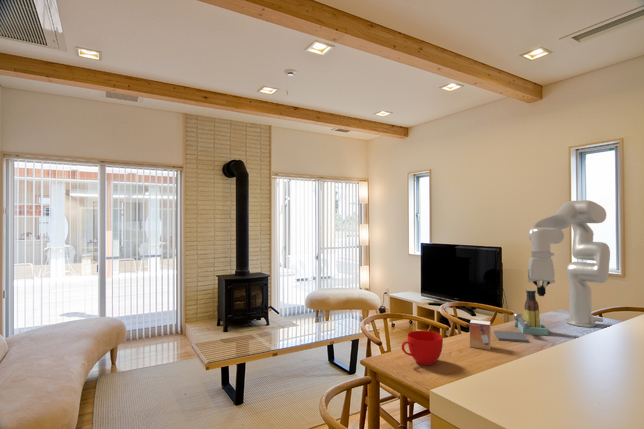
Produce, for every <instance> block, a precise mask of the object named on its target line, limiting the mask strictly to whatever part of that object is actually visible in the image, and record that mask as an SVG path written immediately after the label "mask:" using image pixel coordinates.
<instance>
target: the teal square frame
mask: <svg viewBox="0 0 644 429" xmlns="http://www.w3.org/2000/svg"><path fill="white" fill-rule="evenodd" d="M514 327H515V328H517V329H518V330H520V331H519V332H522V333H523V334H524V335H537V336H549V329H548V327H546V326H545V324H543V323H542V322H541V321H540V328H533V327H529V329H525V328H524V327H523V326H522V325H521V324H520V322H519V321H518V320H517V319H514Z"/></svg>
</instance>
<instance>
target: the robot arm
mask: <svg viewBox="0 0 644 429" xmlns="http://www.w3.org/2000/svg"><path fill="white" fill-rule="evenodd" d="M606 219H607V212H606V209H605V208H604V207H603V206H602V205H600V204H598V203H597V202H594V201H593V200H589V199H588V200H586V199H585V200H568V201H566V202H564V203H562V205H561V206H560V207H559V208H558V209H557V211H556V212H555V213H554V214H552V215H549V216H546V217H544V218H542V219H540V220H538V221H537V222H535V223H534V224H533V225H532V227H531V228H530V230H529V232H528V238H529V240H530V242H531V244H530V245H531V250H530V251H531V257H529V259H528V265H527V278H528V279H527V282H528V283H531V284H534V285H535V286H536V293H537V295H538V296H539V297H545V295H546V288H547V287H548V286H549V285H550V284H555V283H556V282H555V268H554V267H555V266H554V261H553V258H552V257H554V256H555V253H554V252H551V245H557V244H560V243H562V242H563V241H564V239H565V233H564V231H563V230H565V229H567V228H570V227H571V228H572V231H573V239H572V247H571V253H572V254H571V255H572V257H573V258H574V259H577V260H581V261H571V262H570V263H568V264H567V266H566V276H567V280H568V297H569V298H568V306H569V310H568V312H569V318H566V319H565V323H566V324H569V325H572V326H576V327H582V328H583V327H584V328H592V327H596V325H597V324H596V322H597V323H598V322H599V323H604V318H603V317H598V316H593V314H592V313H593V312H592V289H591V287H590V285H589V284H588V283H599V284H604V283H606V282H607V280H608V279H609V272H610V260H611V249H610V247H609V245H608V244H607V243H606V242H603V241H594V231H593V229H592V228H591V226H590V225H588V224H602V223H604V222H605V220H606ZM584 261H585V262H584ZM586 261H594V262H595V263H594V262H586ZM541 281H542V283H541Z"/></svg>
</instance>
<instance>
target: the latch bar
mask: <svg viewBox="0 0 644 429" xmlns="http://www.w3.org/2000/svg"><path fill="white" fill-rule="evenodd" d="M513 319H514V320H515V319H517V320H518V321H519V322H520V324H521V325H522V326H523V327H524V328H525V329H529V322H526V321H525V318H523V314H522V313H519V312H514V313H513Z"/></svg>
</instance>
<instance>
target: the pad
mask: <svg viewBox="0 0 644 429" xmlns="http://www.w3.org/2000/svg"><path fill="white" fill-rule="evenodd" d="M493 333H494V334H495V337H496V338H497V339H498V341H502V342H514V343H515V342H517V343H529V338H527V336H526V334H523V333H522V332H521V331H508V330H507V331H506V330H494V332H493Z"/></svg>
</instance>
